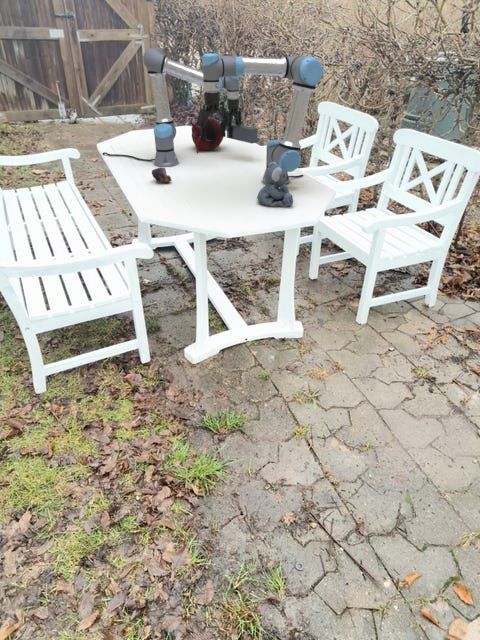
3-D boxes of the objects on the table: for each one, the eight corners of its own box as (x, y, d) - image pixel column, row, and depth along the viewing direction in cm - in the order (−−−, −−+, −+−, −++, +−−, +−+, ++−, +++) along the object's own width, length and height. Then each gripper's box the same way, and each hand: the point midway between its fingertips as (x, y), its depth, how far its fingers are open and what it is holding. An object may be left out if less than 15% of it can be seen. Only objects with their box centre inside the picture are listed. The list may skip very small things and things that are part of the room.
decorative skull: (189, 124, 329) (187, 120, 305) (221, 116, 328) (220, 113, 305) (196, 154, 336) (194, 153, 312) (227, 147, 335) (227, 145, 311)
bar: (226, 137, 300) (226, 124, 295) (232, 136, 303) (232, 123, 298) (251, 143, 286) (252, 129, 281) (257, 142, 289) (257, 128, 284)
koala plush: (294, 207, 227) (296, 168, 215) (258, 208, 226) (259, 169, 214) (288, 196, 241) (290, 158, 230) (255, 197, 240) (255, 159, 229)
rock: (166, 180, 269) (150, 182, 265) (164, 165, 265) (148, 167, 261) (173, 182, 260) (156, 184, 256) (171, 166, 256) (154, 169, 252)
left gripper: (226, 100, 278) (227, 140, 291) (247, 97, 288) (247, 135, 302) (218, 99, 282) (219, 138, 296) (239, 96, 293) (239, 133, 306)
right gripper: (197, 95, 202) (200, 144, 214) (235, 89, 217) (236, 135, 229) (186, 94, 206) (189, 142, 218) (224, 88, 221) (225, 133, 233)
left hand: (233, 136), depth 299 cm, fingers closed on bar, 5 cm apart
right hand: (213, 139), depth 224 cm, fingers open, 13 cm apart
